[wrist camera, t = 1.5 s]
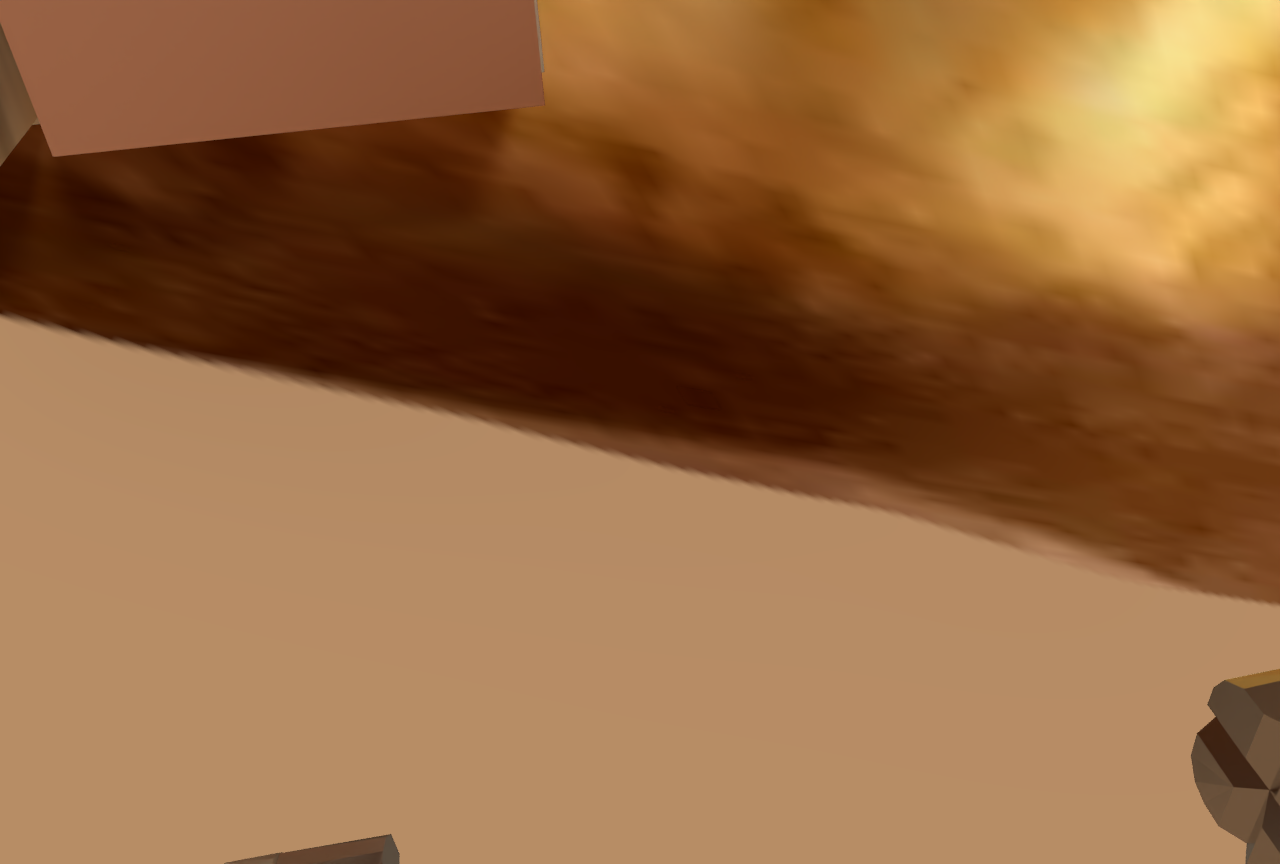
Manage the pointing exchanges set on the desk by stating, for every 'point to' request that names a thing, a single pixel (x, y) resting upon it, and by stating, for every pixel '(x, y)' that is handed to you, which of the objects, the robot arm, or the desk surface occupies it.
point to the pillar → (12, 102)
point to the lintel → (263, 65)
